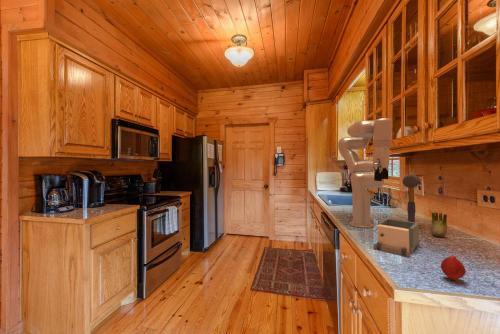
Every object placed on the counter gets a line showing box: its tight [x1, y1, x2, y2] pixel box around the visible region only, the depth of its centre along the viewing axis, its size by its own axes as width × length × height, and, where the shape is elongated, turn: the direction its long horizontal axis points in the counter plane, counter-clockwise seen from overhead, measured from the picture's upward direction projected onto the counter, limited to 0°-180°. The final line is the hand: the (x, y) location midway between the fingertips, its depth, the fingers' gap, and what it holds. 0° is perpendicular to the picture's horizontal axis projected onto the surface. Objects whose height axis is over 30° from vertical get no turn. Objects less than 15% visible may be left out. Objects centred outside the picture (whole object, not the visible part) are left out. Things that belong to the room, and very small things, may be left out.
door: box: [376, 224, 409, 251], centre depth 97 cm, size 4×11×10 cm, turn 44°
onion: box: [440, 254, 467, 281], centre depth 73 cm, size 6×6×8 cm
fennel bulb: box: [430, 211, 448, 238], centre depth 115 cm, size 6×5×12 cm
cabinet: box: [373, 217, 420, 258], centre depth 101 cm, size 18×13×10 cm
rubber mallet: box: [402, 174, 421, 223], centre depth 131 cm, size 12×8×30 cm, turn 139°
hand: (381, 179), depth 113 cm, fingers open, 9 cm apart
